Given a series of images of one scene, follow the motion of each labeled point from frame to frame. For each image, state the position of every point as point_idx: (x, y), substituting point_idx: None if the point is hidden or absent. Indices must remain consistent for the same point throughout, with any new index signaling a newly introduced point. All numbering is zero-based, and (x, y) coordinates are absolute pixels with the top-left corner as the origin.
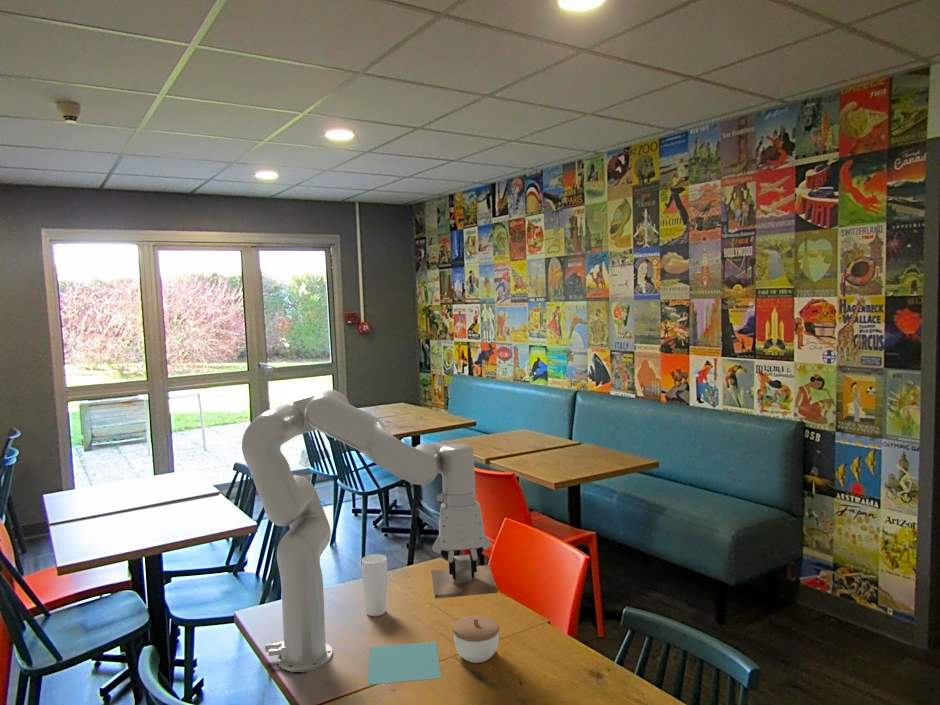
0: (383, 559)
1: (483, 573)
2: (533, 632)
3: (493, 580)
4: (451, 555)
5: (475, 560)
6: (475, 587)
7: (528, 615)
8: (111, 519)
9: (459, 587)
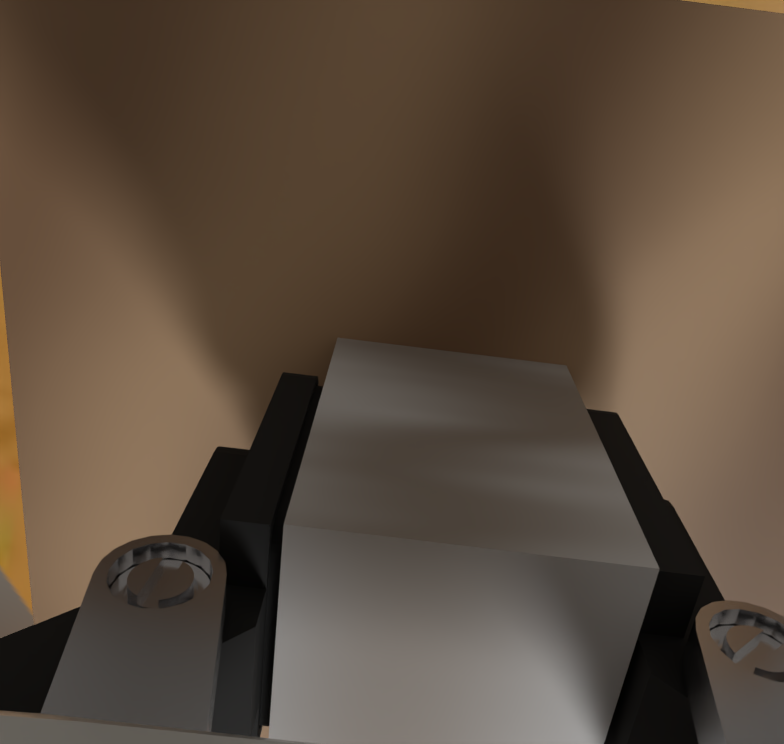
0: None
1: (134, 530)
2: (3, 378)
3: (15, 272)
4: (780, 736)
5: (174, 562)
6: (325, 115)
7: (7, 543)
8: None
9: (566, 204)
